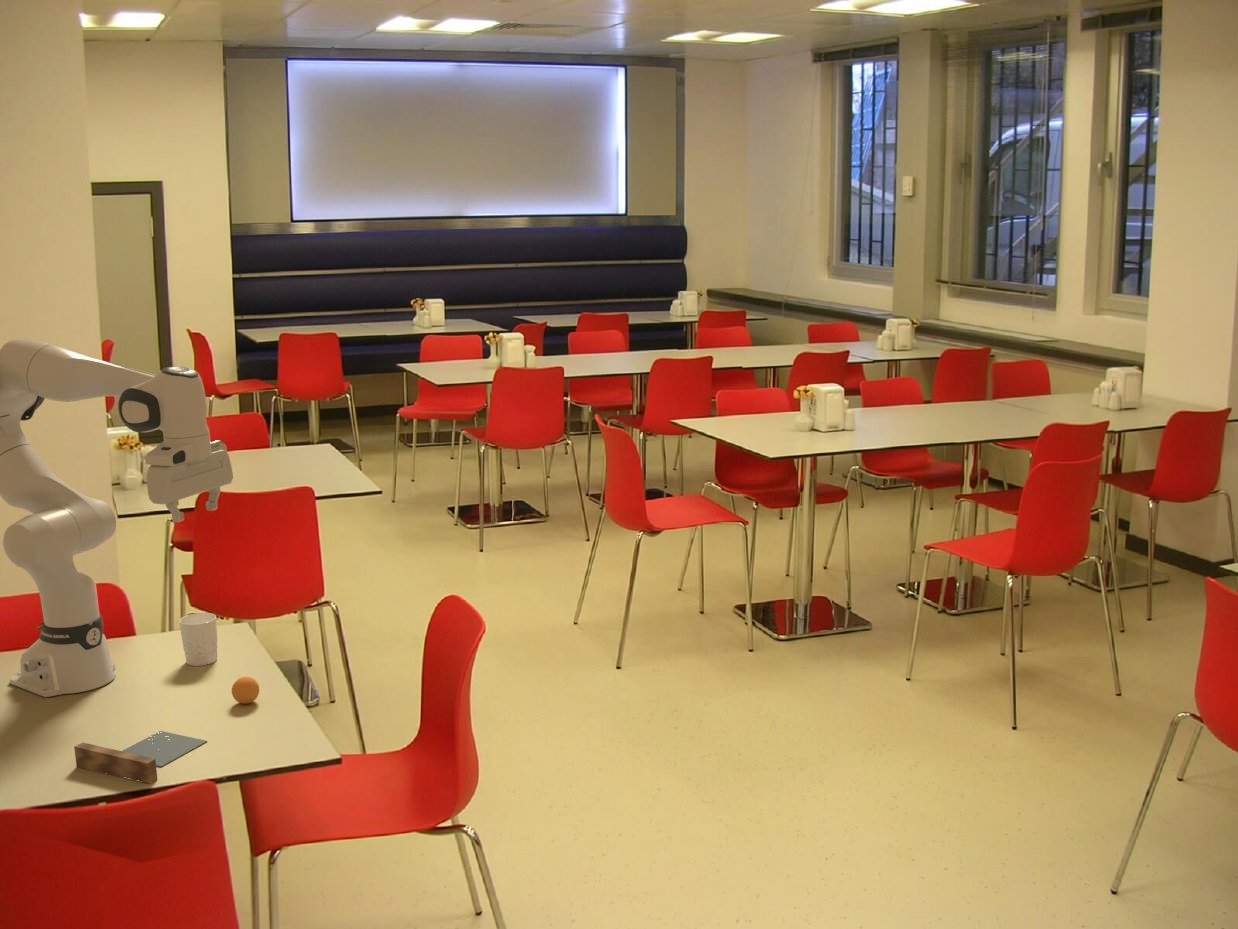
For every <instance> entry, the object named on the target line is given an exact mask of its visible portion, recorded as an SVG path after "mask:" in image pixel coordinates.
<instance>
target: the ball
mask: <svg viewBox="0 0 1238 929" xmlns="http://www.w3.org/2000/svg"><path fill="white" fill-rule="evenodd" d="M231 694H232V695H231V696H232V697H233V699H234V700H235V701H236V702H237V703H239V704H245V705H246V704H251V703H253V702H254V701H256V699H257V698H258V696H259V694H260V685H259V683H258V682H257V681H256V679H255V678H253V677H251V676H242V677H238V679H236V680H235V681H234V682H233V684H232V687H231Z"/></svg>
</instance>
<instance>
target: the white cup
mask: <svg viewBox="0 0 1238 929" xmlns="http://www.w3.org/2000/svg"><path fill="white" fill-rule="evenodd" d="M178 622H179V630H180V636H181V642H182V647H183V651H184V657H185V662H186V664H187V665H188V666H194V667H195V666H196V667H202V666H207V664H208V665H210V664H213V663H215V662H216V661H218V626H217V615H216V614H214V613H210V612H197V613H191V614H188V615H184V616H182V617H180V618H179V621H178Z"/></svg>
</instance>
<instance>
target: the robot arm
mask: <svg viewBox="0 0 1238 929" xmlns="http://www.w3.org/2000/svg"><path fill="white" fill-rule="evenodd" d="M103 397H105V398H106V397H118V398H119V399H118V404H117V406H118V407H117V408H118V414H119V417H120V420H121V421H122V423H123V424H124V426H126V427H127V429H129V430H130V431H132V432H135V433H149V432H154V431H157V430H160V431H161V432H162V434H163V435H162V436H163V441H161V442H160V443H159V444H158V445H156V446H155V447H154V448H153V449H152V450H150V451H149V452H148V453H146V455H145V456H144V458H145V463H146V464H147V465H149V467H148V468H147V470H146V487H147V488H146V489H147V496H148V499H149V500H150V502H152V503H153V504H155V505H165V506H166V508H167V510H168V511H169V512H170V514H171V519H172V522H173V523H181V522H183V521H185V513H184V511H181V510H180V509H179V505H180V502H179V501H180V500H183V499H186V498H189V497H192V496H195V495H198V494H201V493H206V492H207V493H209V496H208V501H205V506H206V507H205V509H206V510H207V511H208V512H209V511H210V512H213V511H216V510H218V508H219V506H218V501H219V497H220V494H221V487H224V486H227V485H230V484H231V483H232V482H233V479H234V474H233V473H234V472H233V467H232V462H231V459H230V458H231V457H230V455H229V453H228V449H227V448H228V447H227V445H226V444H225V443H224V442H223V441H221V440H215V441H212V440H211V434H210V428H209V426H208V422H207V415H208V405H207V404H208V402H207V398H206V392H205V386H204V383H203V379H202V377H201V375H200V374H199V372H198V371H197V370H195V369H193V368H190V367H187V366H167V367H164V368H162V369H159V371H158V373H157V374H155V373H151V372H148V371H143V370H139V369H138V368H137V369H135V368H133V367H128V366H125V365H121V364H116V363H113V362H109V361H105V360H102V359H98V358H95V357H91V356H89V355H85V354H81V353H79V352H75V351H73V350H71V349H69V348H68V349H67V348H65V347H62V346H59V345H56V344H53V343H49V342H46V341H43V340H37V339H33V338H32V339H31V338H21V337H19V338H17V337H16V338H13V339H12V338H11V339H10V340H8V341H7V342H6V343H4V344H3V345H2V346H1V348H0V498H2V500H3V501H4V502H5V503H6V504H7V505H9V506H11V507H14V508H17V509H21V510H25V511H28V512H29V513H31V514H29V515H26V516H24V517H23V518H20V519H19V520H17V521H16V522H14V523H13V524H11V525H9V526H8V527H7V528H6V530H5V531H4V534H3V540H2V545H3V550H4V552H5V555H6V557H7V558H8V560H10V562H11V563H12V564H14V565H15V566H17V567H18V568H21V569H22V570H23V571H25V572H26V573H28V574H29V575H30V577H31V579H33V581H34V583H35V585H36V587H37V590H38V593H39V597H40V604H41V610H42V616H43V617H42V618H43V622H41V623H38V624H35V627H37V628H36V629H35V630H36V631H38V630H40V635H39V638H38V639H37V640H36V641H35V642H34V643H32V645H30V646H29V647H28V648H27V649H26V650H25V651H24V652H23V653H22V654H21V657H20V671H18V672H17V673H15V674H13V675H12V676H11V677H10V678H9V683H10V684H11V685H13V686H16V687H18V688H21V689H23V690H26V691H29V692H30V693H33V694H35V695H39V696H41V697H43V698H49V697H54V696H60V695H67V694H76V693H82V692H88V691H91V690H96V689H98V688H100V687H101V688H102V687H103V686H105V685H108V683H111V682H112V681H113V680H114V679H115V677H116V674H115V671H114V670H115V668H116V665H115V662H112V659H111V655H110V650H109V646H108V641H107V638H106V636H105V634H104V620H103V616H102V614H101V613H100V608H99V607H100V606H99V600H98V592H97V585H96V582H95V581H94V579H93V578H92V577H91V576H89V575H88V574H85V573H83V572H79V571H78V570H77V568H76V566H75V562H74V557H75V556H76V555H79V554H83V553H85V552H88V551H90V550H93V549H96V548H98V547H99V546H101V545H103V544H104V543H105V542H107V541H109V540H110V539H111V538H112V537H113V536H114V534H115V532H116V529H117V519H116V515H115V512H114V510H113V508H112V507H111V506H110V505H109V504H108V502H105V501H104V500H102V499H99V498H95V497H91V496H88V495H86V494H84V493H82V492H80V491H78V490H77V489H75V488H74V487H72V486H70V485H69V484H68V483H66V482H65V481H63V479H61V478H60V477H58V475H56V474H55V472H54V471H53V470H52V469H51V468H50V466H49V465H48V464H47V463H46V462H45V460H44V459H43V458H42V456H41V455H40V454H39V452H38V451H37V450H36V448H35V447H34V445H33V444H32V443H31V442H30V440H29V439H28V438H27V436H26V435H25V433H24V432H23V430H22V427H21V421H28V420H31V419H32V418H33V417H34V414H35V412H36V410H37V409H39V407H40V406H42V404H43V403H44V401H45V399H47V400H49V401H56V402H61V403H62V402H63V403H64V402H65V403H70V402H71V403H72V402H80V401H84V400H90V399H96V398H103ZM211 441H212V442H211Z"/></svg>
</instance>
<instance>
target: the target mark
mask: <svg viewBox="0 0 1238 929" xmlns="http://www.w3.org/2000/svg"><path fill="white" fill-rule="evenodd" d="M158 732H159V734H158V733H157V732H155V733H156V734H155V733H153V734H151V735H150V736H152V737H150V736H148V737H146V738H144V739H142V740H140V741H138V742H136V743H134V744H133V745H131V746H128V747H127V748H125V749H123V750H122V751H123V752H127V753H132V754H136V755H140V756H145V757H149V758H154V759H155V761H156V767H158V768H163V767H164V766H167V765H168V764H171V763H172V762H174V761H176V760H178V759H179V758H181V757H183V756H185V755H186V754H188V753H190V752H192V751H193V750H195V749H197V748H199V747H201V746H202V745H204V744H206V743H208V740H205V739H201V738H196V737H192V736H187V735H181V734H177V733H173V732H168V731H162V730H159V731H158ZM160 732H162V733H160ZM154 736H155V737H154ZM165 736H169V737H165ZM148 739H150V740H148ZM152 739H153V740H152ZM168 739H170V740H168ZM152 743H153V744H152ZM158 749H159V750H158ZM192 749H193V750H192ZM191 750H192V751H191ZM173 760H174V761H173Z"/></svg>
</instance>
